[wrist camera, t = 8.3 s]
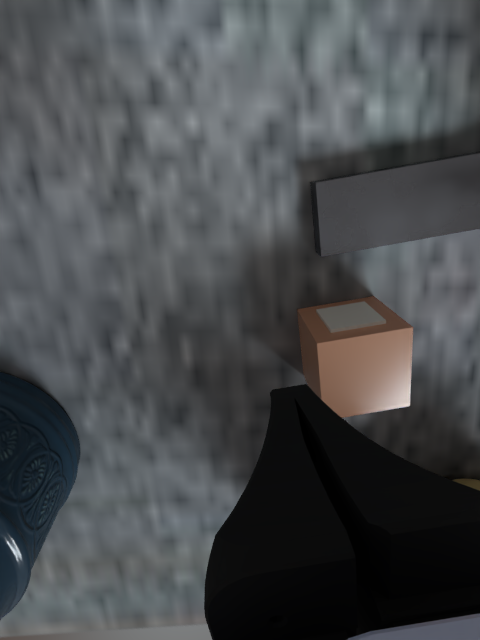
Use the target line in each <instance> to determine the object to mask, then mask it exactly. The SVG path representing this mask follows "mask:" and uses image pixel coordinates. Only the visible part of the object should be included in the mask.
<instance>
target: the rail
mask: <svg viewBox="0 0 480 640" xmlns="http://www.w3.org/2000/svg"><path fill="white" fill-rule="evenodd" d="M310 186H311V198H312V210H313V223H314V235H315V248H316V253H317V254H318V255H320V256H321V257H323V256H329V255H334V254H340V253H346V252H351V251H357V250H362V249H368V248H374V247H379V246H385V245H391V244H396V243H402V242H407V241H413V240H419V239H424V238H430V237H435V236H441V235H447V234H452V233H458V232H463V231H469V230H475V229H480V152H475V153H470V154H464V155H459V156H453V157H448V158H442V159H436V160H431V161H425V162H420V163H414V164H409V165H403V166H397V167H392V168H386V169H381V170H375V171H370V172H364V173H359V174H353V175H347V176H342V177H336V178H331V179H325V180H320V181H314V182H310Z"/></svg>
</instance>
